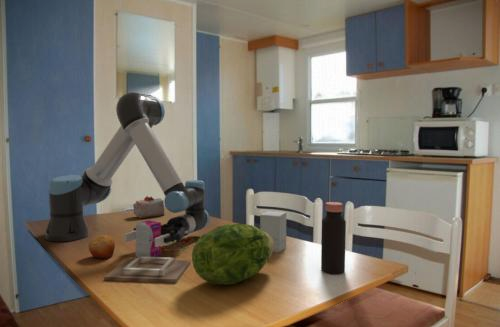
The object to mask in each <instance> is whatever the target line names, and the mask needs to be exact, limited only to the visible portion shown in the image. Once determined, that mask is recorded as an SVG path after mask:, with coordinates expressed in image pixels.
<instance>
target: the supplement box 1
mask: <svg viewBox="0 0 500 327" xmlns="http://www.w3.org/2000/svg"><path fill="white" fill-rule="evenodd" d="M161 225H162V223H161V222H159V221H155V220H154V221H153V220H150V219H149V220H144V221H139V222H136V223H135V228H136V239H135V259H136V258H137V257H162V256H161V250H162V249H161V247H162V245H161V246H159V247H155V238H157V237H160V236H162V235H161Z"/></svg>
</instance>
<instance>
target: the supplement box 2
mask: <svg viewBox="0 0 500 327" xmlns="http://www.w3.org/2000/svg"><path fill="white" fill-rule="evenodd" d="M259 219H260V220H259V221H260V222H259V226H260V227H259V229H260V230H262V231H264V232H266V233H267V234H269V235H270V237H271V238H272V239H273V242H274V249H273V252H274V253H281V252H282V251H283V250H285V249H286V248H287V212H283V211H270V210H267V211H265V212H263V213H261V214H260V216H259ZM273 252H272V253H273Z"/></svg>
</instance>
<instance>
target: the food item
mask: <svg viewBox="0 0 500 327" xmlns="http://www.w3.org/2000/svg"><path fill="white" fill-rule="evenodd" d="M132 206H133V215H135V216H136V217H137V218H139V219H147V218H155V217H156V218H157V217H162V216H165V215H166V214H165V203H164V199H162V198H160V197H159V198H154V197H152V196H148V195H146V197H144V199H140V200H136V201H135V203H133V205H132Z"/></svg>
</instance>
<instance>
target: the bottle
mask: <svg viewBox="0 0 500 327" xmlns="http://www.w3.org/2000/svg"><path fill="white" fill-rule="evenodd" d="M343 209H344V204H343V203H342V202H337V201H329V202H328V201H327V202H325V213H326V215H325V216H324V217H323V218H322V219H321V250H320V251H321V253H320V254H321V256H320V260H321V262H320V269H321V271H322V272H323V273H325V274H328V273H329V275H341V273H342V274H343V273H344V272H345V270H346V234H347V233H346V231H347V230H346V227H347V221H346V219H345V218H344V217H343V216H342V214H343Z"/></svg>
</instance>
